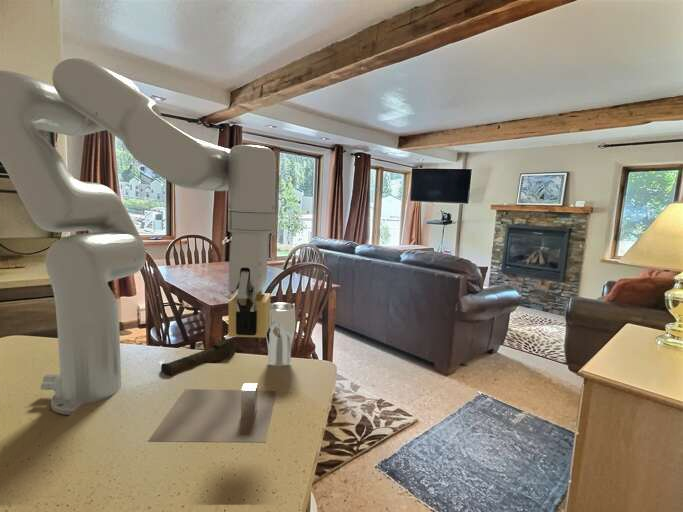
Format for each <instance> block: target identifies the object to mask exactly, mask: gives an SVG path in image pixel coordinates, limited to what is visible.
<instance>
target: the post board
mask: <svg viewBox="0 0 683 512" xmlns="http://www.w3.org/2000/svg"><path fill="white" fill-rule="evenodd" d="M277 391H278V390H263V389H262V390H258V383H243V385H242V387H241V389H205V388H204V389H200V388H199V389H196V388H195V389H194V388H192V389H191V388H189V389H188V388H185V389H184V390H183V391H182V393H181V395H180V396H179V397H178V398H177V400H176V401H175V402H174V404H173V406H172V407H171V408H170V409H169V411H168V412H167V414H166V415H165V416H164V417H163V420H162V421H161V422H160V423H159V425H158V426H157V428H155V431H154V432H153V433H152V435H151V436H150V437H149V439H148V440H147V442H154V443H155V442H156V443H158V442H160V443H161V442H164V443H165V442H169V443H172V442H174V443H175V442H177V443H181V442H182V443H183V442H184V443H266V439H267V437H268V436H267V435H268V431H269V427H270V422H271V417H272V413H273V409H274V404H275V400H276V395H277Z"/></svg>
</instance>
